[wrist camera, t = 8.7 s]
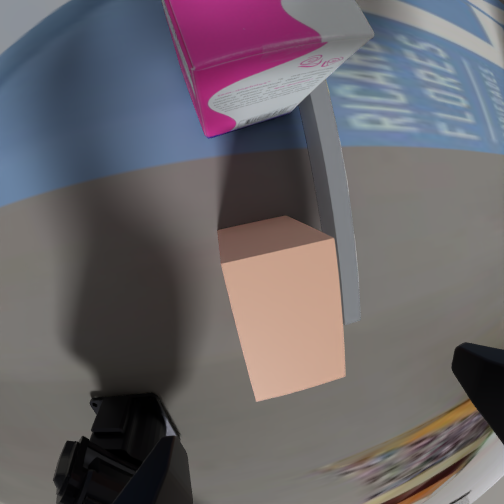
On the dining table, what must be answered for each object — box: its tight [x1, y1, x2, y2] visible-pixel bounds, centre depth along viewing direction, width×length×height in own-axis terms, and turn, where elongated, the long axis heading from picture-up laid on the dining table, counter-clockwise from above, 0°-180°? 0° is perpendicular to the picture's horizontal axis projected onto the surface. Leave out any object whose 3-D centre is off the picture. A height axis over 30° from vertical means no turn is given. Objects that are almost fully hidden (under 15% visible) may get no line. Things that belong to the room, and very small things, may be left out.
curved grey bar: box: [298, 79, 361, 325], centre depth 17 cm, size 20×1×2 cm, turn 11°
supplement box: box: [161, 0, 374, 138], centre depth 11 cm, size 6×6×12 cm
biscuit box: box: [217, 215, 345, 402], centre depth 16 cm, size 5×7×8 cm, turn 11°
